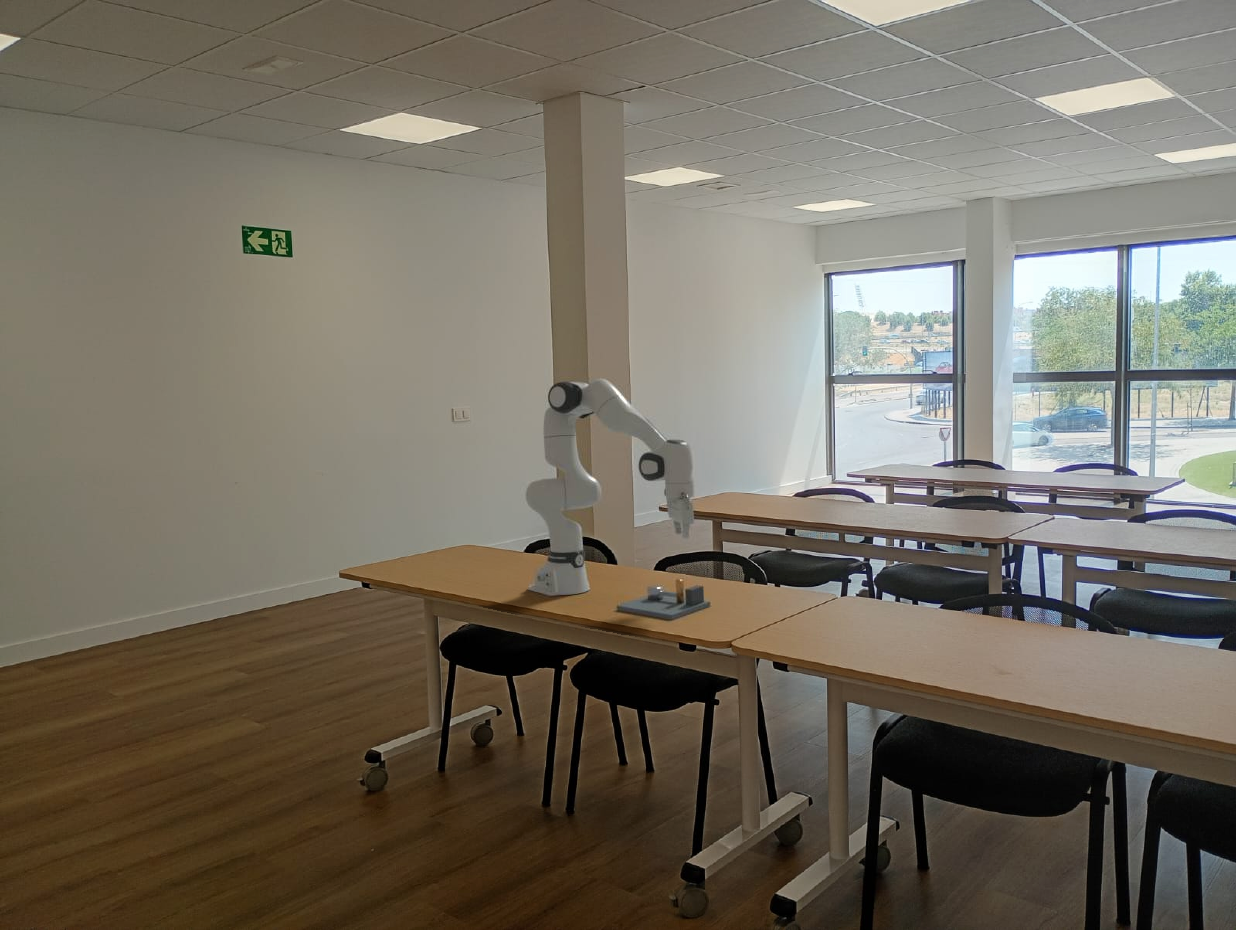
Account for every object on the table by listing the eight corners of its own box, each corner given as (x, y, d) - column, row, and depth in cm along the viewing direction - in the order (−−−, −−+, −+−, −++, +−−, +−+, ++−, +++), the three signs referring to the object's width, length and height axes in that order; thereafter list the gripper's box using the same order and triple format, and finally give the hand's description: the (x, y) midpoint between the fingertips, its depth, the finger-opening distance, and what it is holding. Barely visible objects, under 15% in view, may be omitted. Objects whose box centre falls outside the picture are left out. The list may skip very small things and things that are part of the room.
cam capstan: (644, 598, 302) (643, 577, 302) (654, 595, 306) (653, 574, 305) (678, 604, 293) (677, 581, 292) (688, 600, 297) (687, 578, 296)
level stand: (616, 610, 296) (615, 589, 296) (655, 597, 310) (655, 577, 310) (672, 619, 282) (671, 598, 281) (710, 606, 296) (709, 585, 295)
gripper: (697, 493, 287) (700, 539, 288) (682, 488, 307) (684, 531, 308) (677, 495, 286) (679, 540, 287) (662, 489, 306) (665, 532, 307)
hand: (681, 535), depth 298 cm, fingers open, 8 cm apart
